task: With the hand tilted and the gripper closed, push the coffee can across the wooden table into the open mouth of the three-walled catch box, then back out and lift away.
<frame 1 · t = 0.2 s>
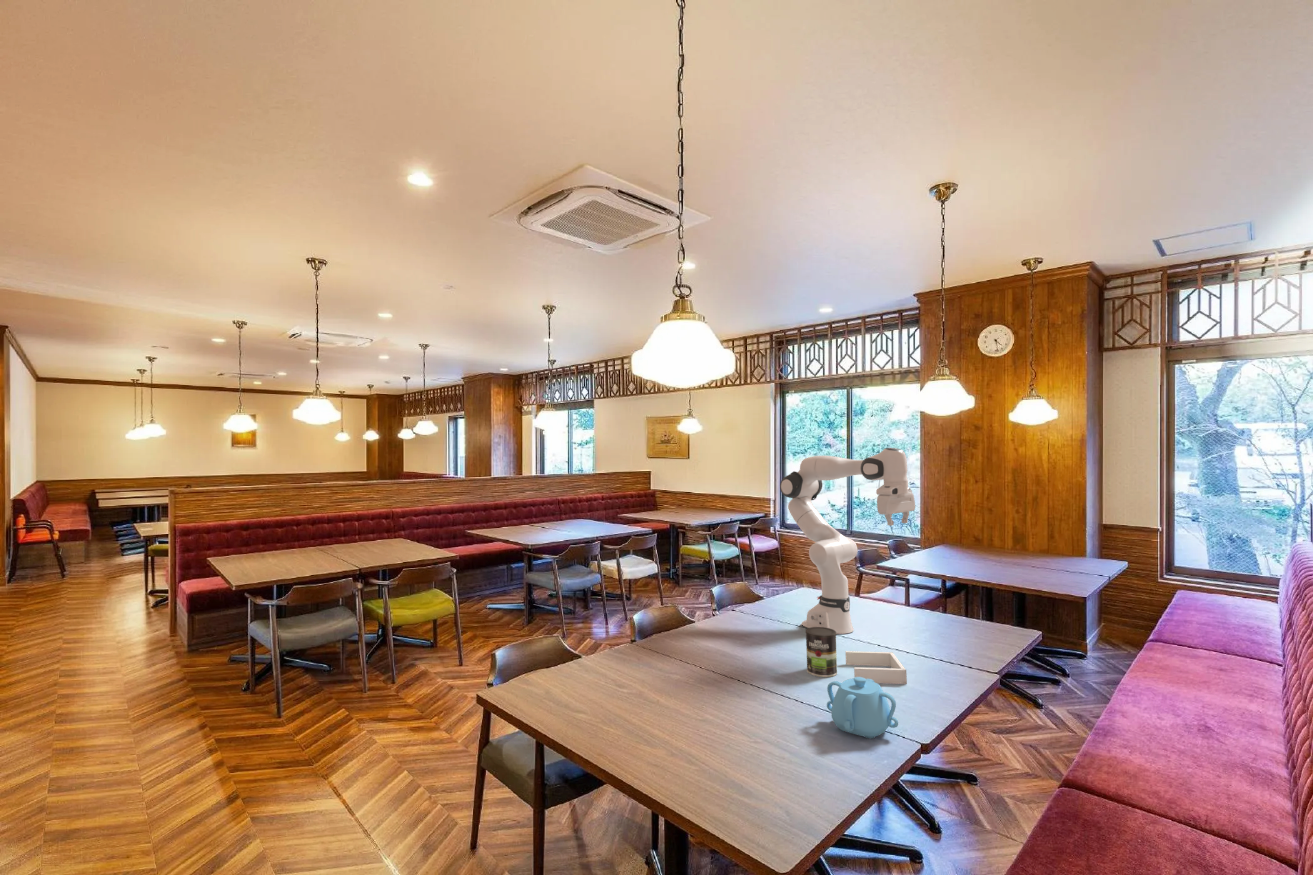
hand: (897, 524, 224), 48 cm above the table, tool pointing down, fingers open, 8 cm apart
catch box: (873, 673, 196), on the table
coffee can: (822, 672, 199), on the table
decorative pot: (861, 729, 157), on the table
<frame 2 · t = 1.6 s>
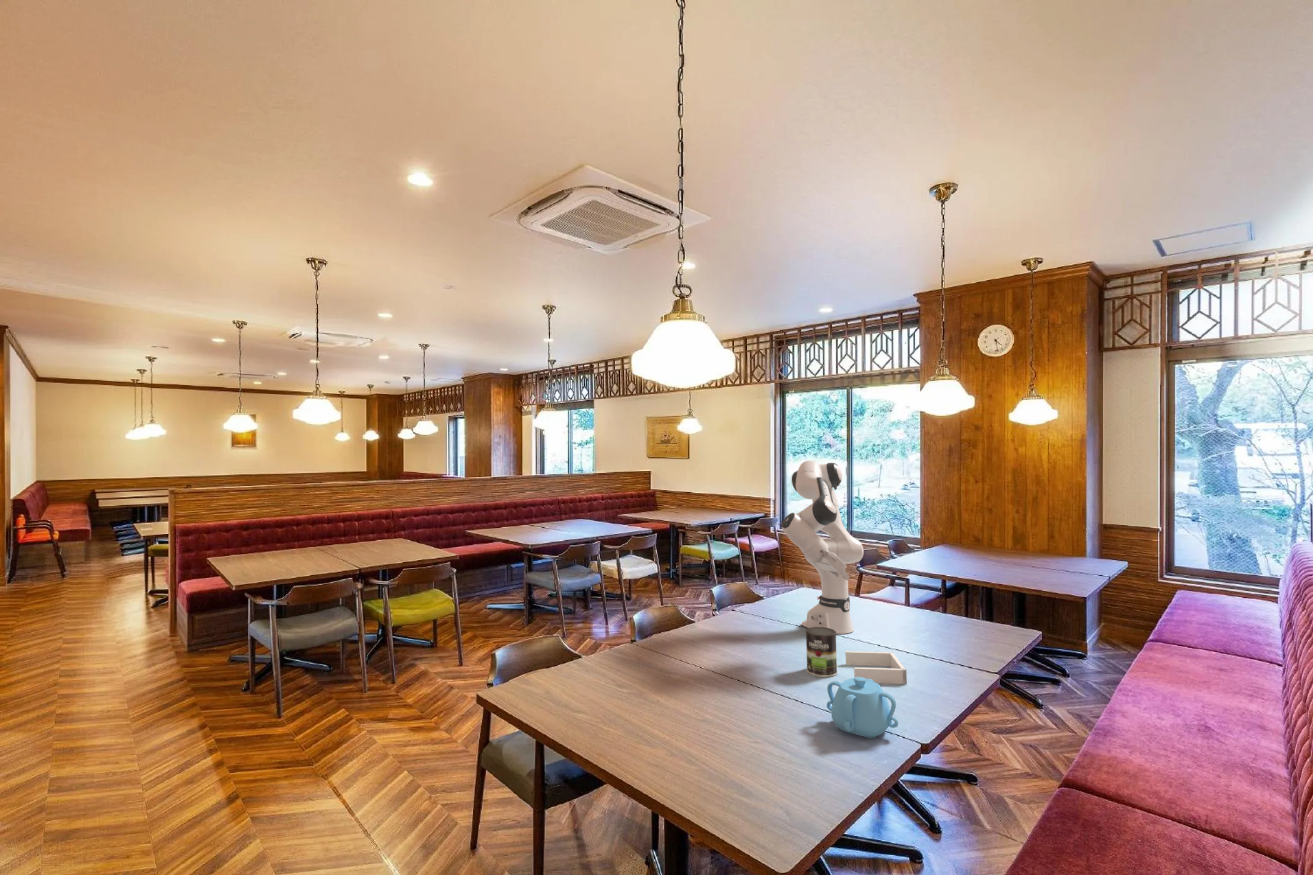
hand: (842, 577, 213), 30 cm above the table, tool tilted 40°, fingers open, 8 cm apart
nothing on the table moved.
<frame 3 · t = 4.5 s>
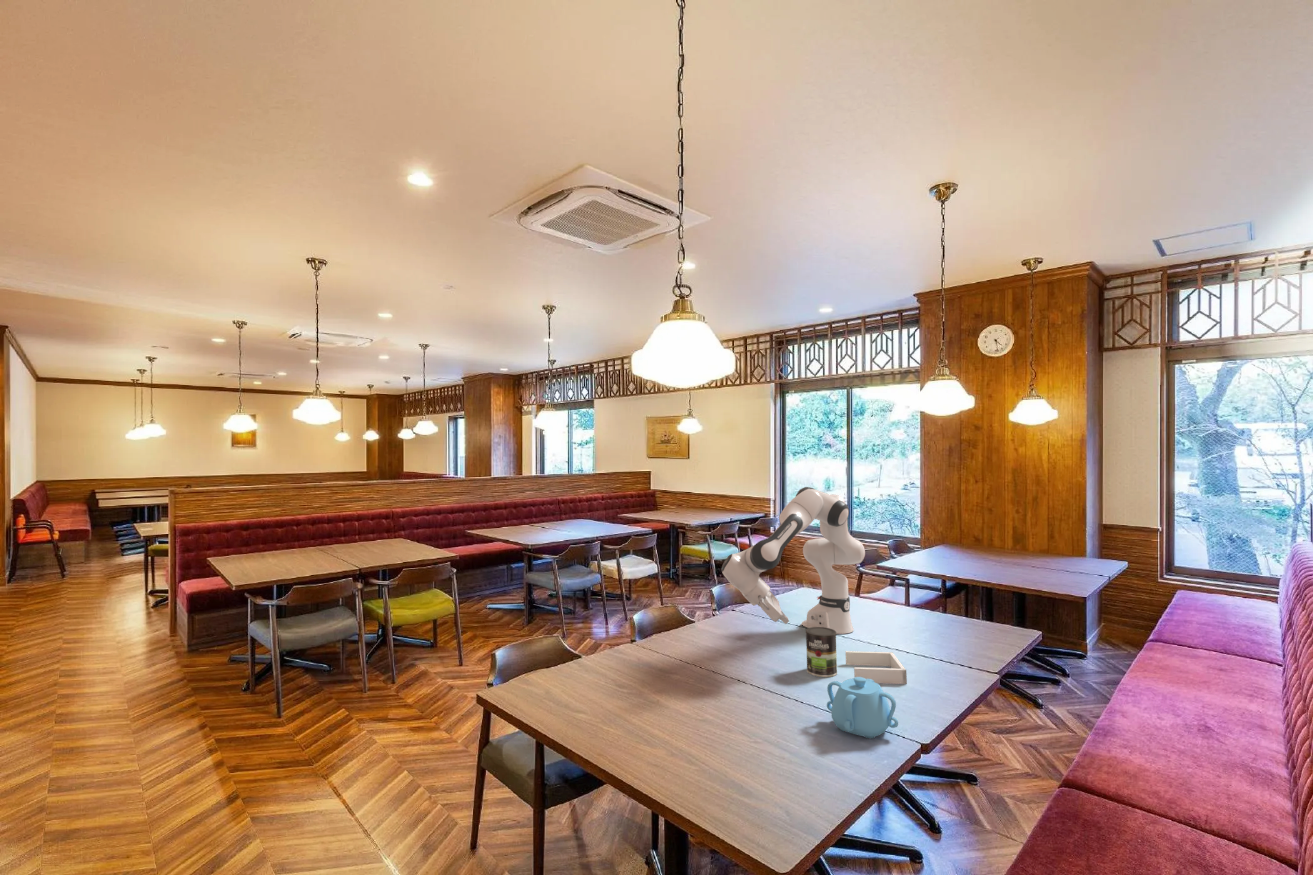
hand: (787, 621, 201), 17 cm above the table, tool tilted 45°, fingers closed
nothing on the table moved.
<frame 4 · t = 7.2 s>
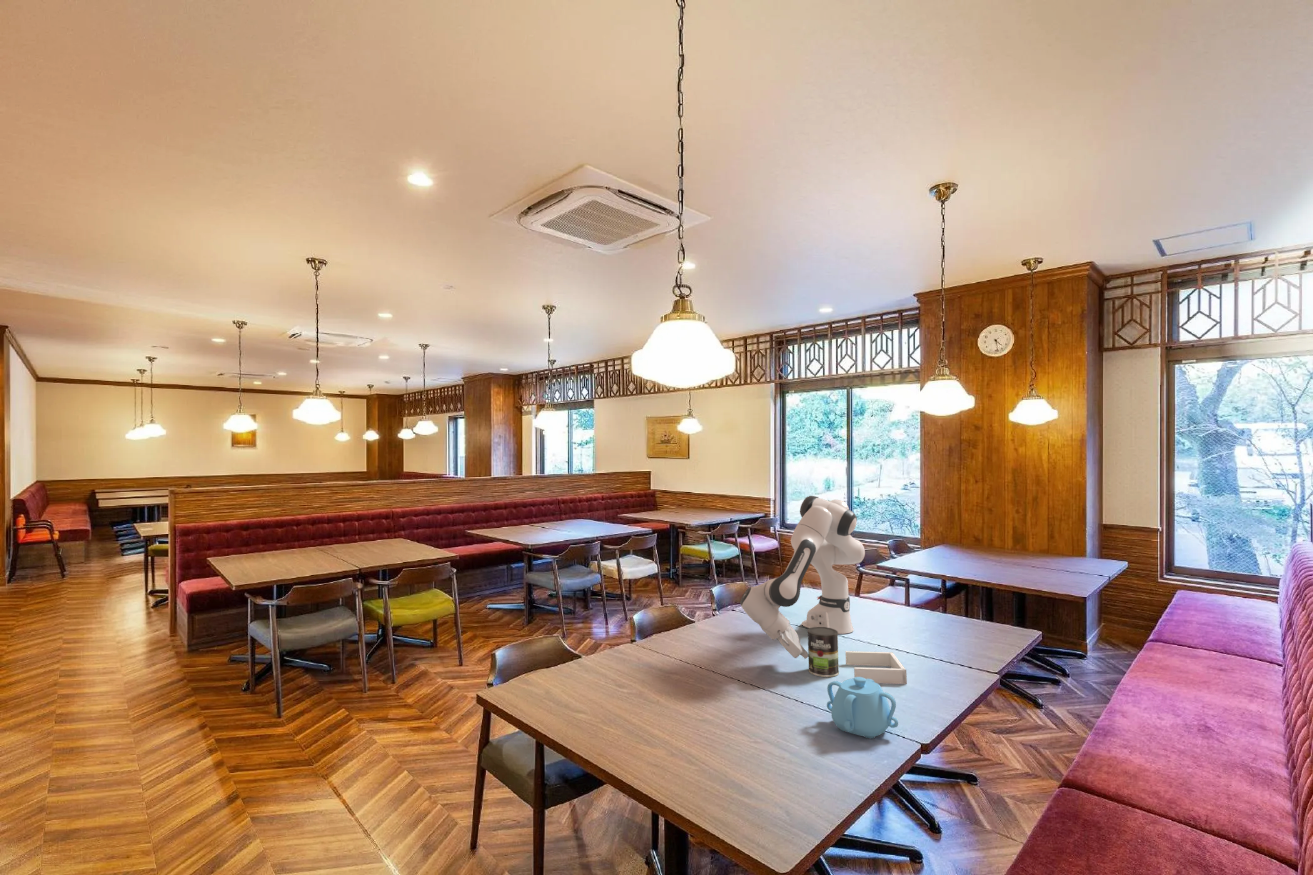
hand: (806, 656, 200), 5 cm above the table, tool tilted 45°, fingers closed
coffee can: (823, 672, 199), on the table, touching gripper
everything else where it was.
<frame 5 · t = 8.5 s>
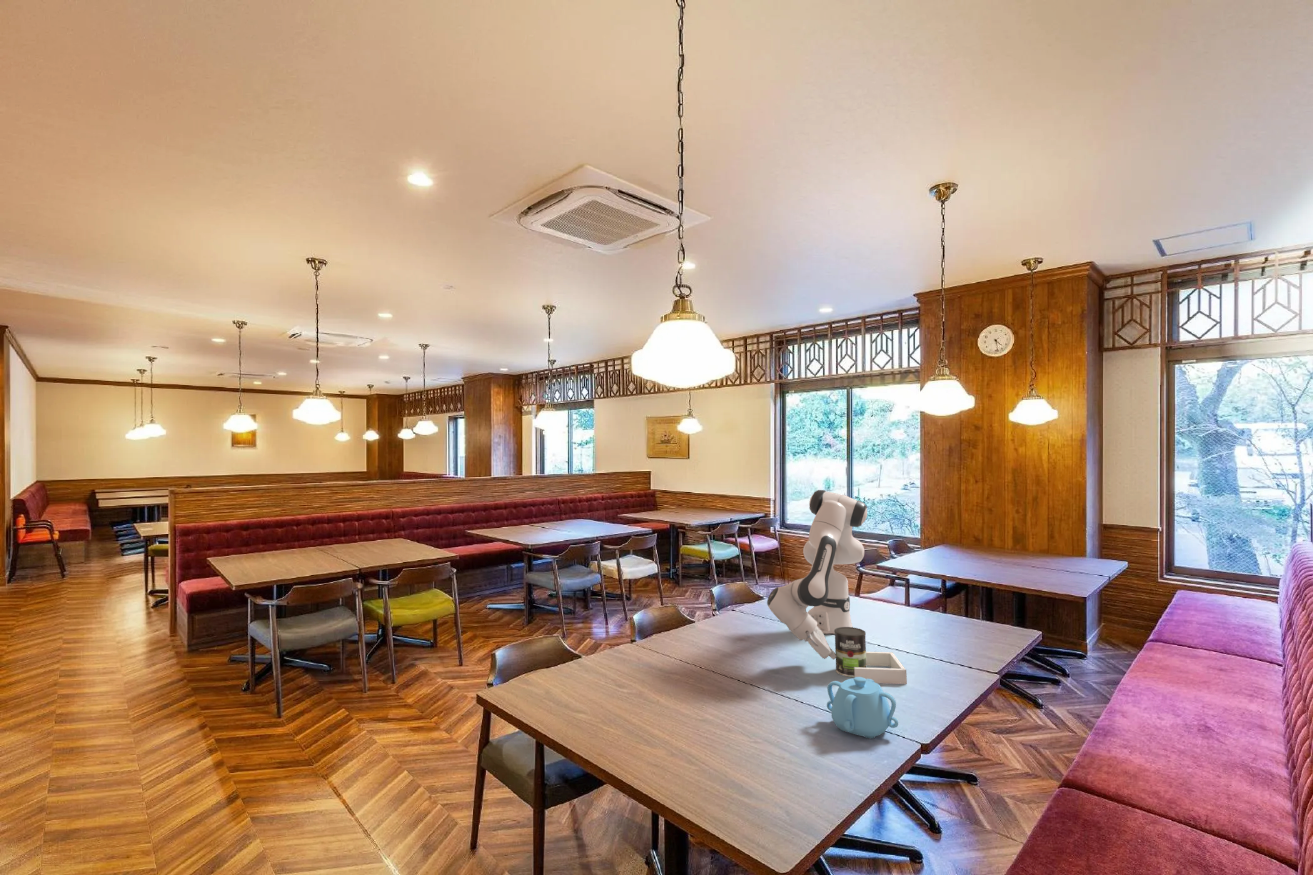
hand: (834, 656, 198), 5 cm above the table, tool tilted 45°, fingers closed, pressing on coffee can
coffee can: (851, 672, 198), on the table, touching gripper
everything else where it was.
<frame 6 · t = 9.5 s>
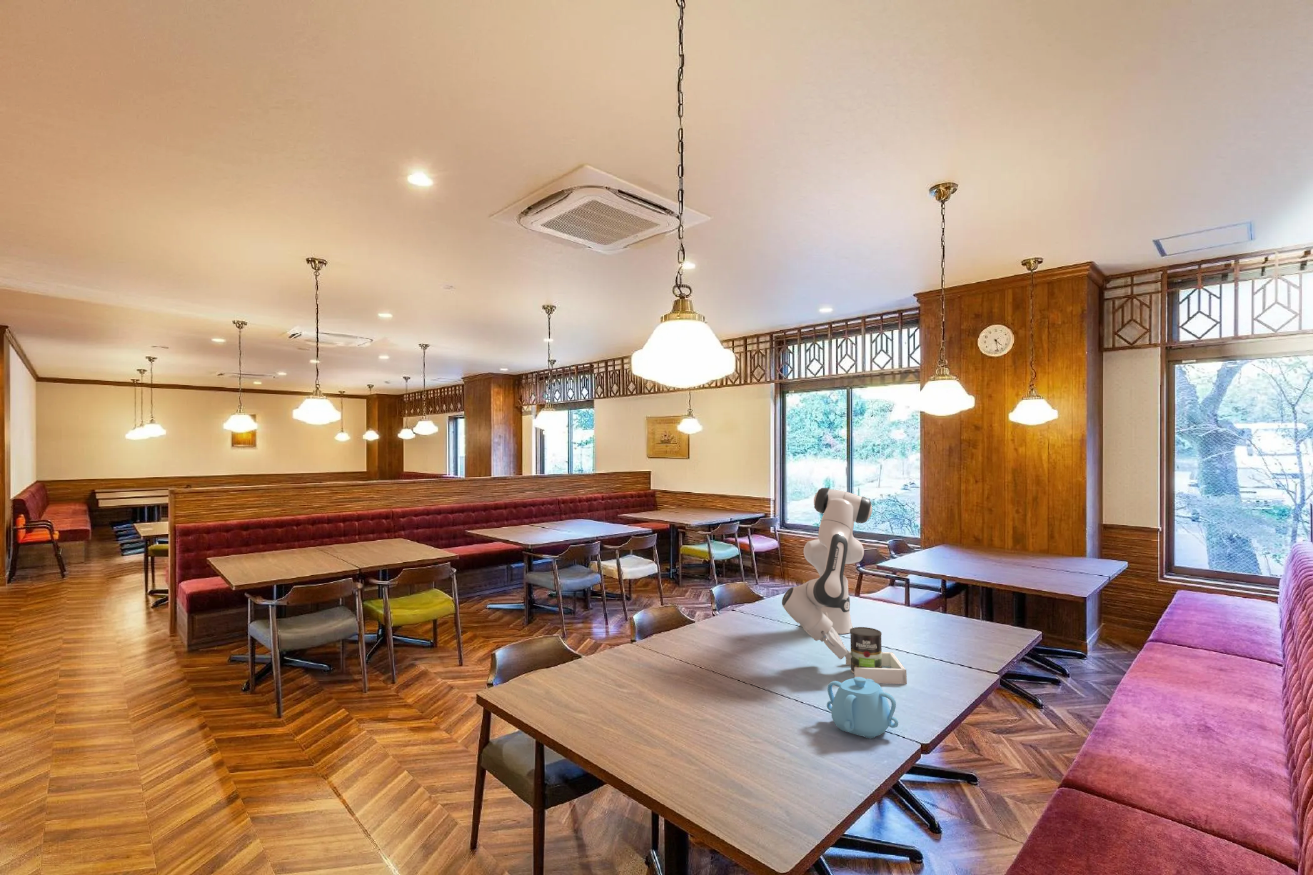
hand: (850, 657, 197), 5 cm above the table, tool tilted 45°, fingers closed, pressing on coffee can
coffee can: (866, 672, 197), on the table, touching gripper
everything else where it was.
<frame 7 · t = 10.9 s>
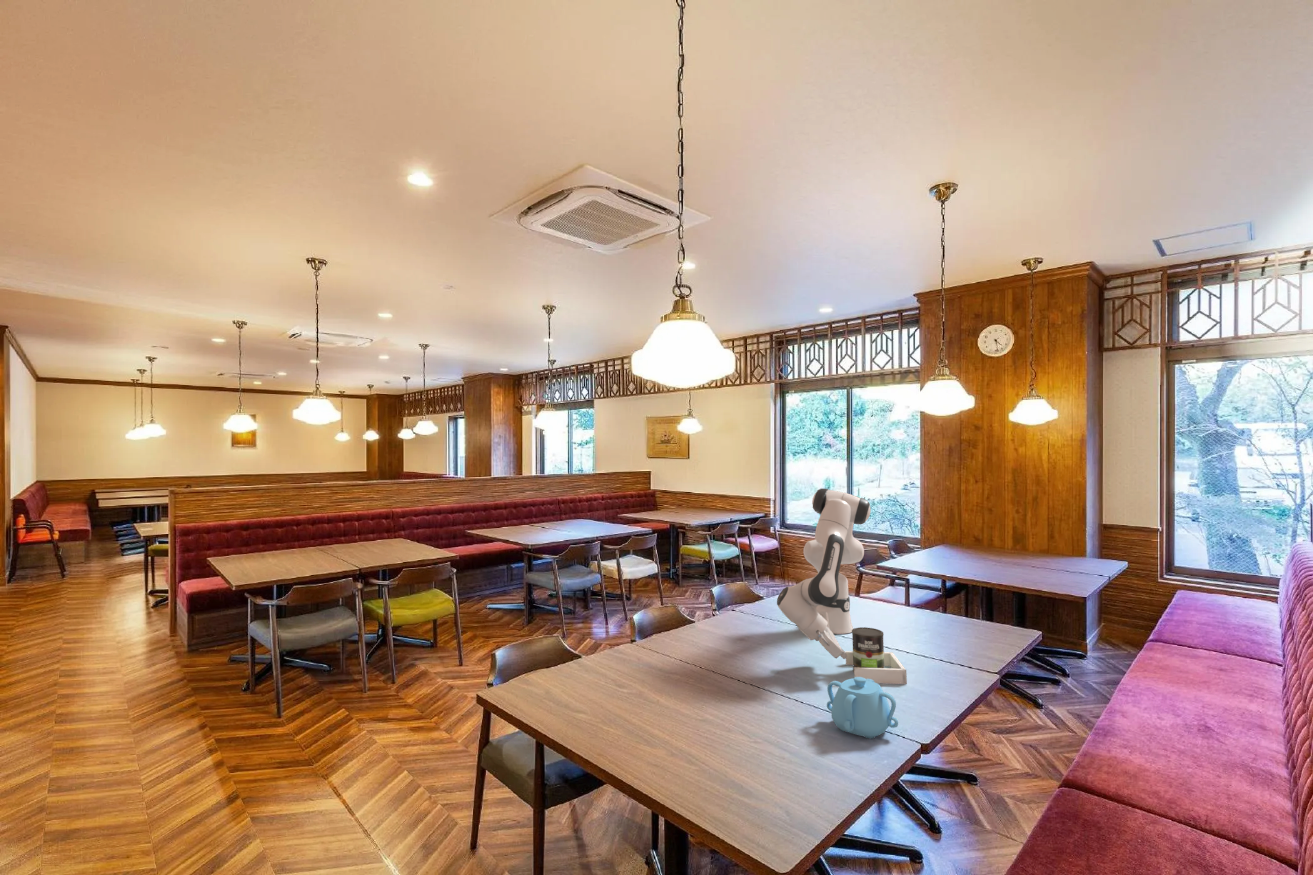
hand: (845, 656, 198), 6 cm above the table, tool tilted 45°, fingers closed
coffee can: (868, 673, 197), on the table
everything else where it was.
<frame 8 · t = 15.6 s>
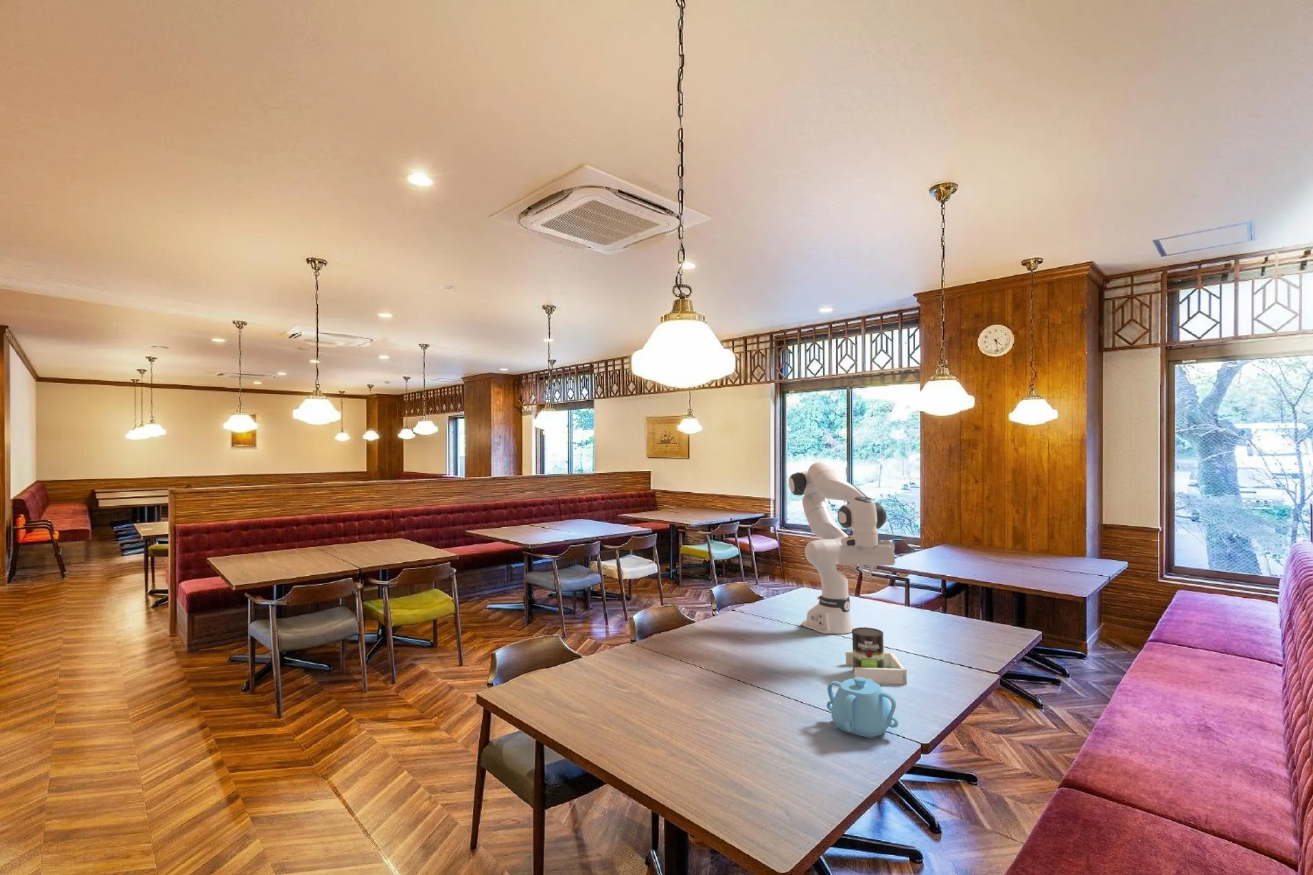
hand: (866, 577, 215), 29 cm above the table, tool pointing down, fingers closed
nothing on the table moved.
at the end: coffee can 1.4 cm from the catch box (horizontally); coffee can tilted 0°; coffee can moved 15.7 cm from its start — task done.
